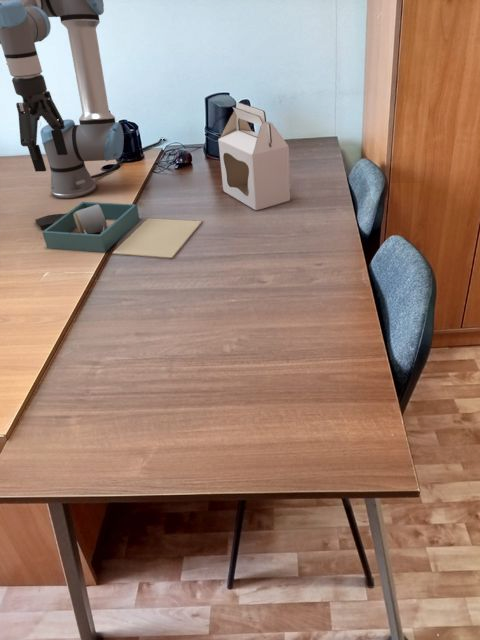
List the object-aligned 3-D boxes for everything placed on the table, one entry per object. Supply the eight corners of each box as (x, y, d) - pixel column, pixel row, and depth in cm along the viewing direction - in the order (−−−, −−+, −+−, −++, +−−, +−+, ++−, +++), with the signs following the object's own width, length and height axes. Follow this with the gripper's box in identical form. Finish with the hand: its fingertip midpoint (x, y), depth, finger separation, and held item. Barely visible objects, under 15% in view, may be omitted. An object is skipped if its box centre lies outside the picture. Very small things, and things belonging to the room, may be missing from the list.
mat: (148, 219, 167) (147, 218, 167) (201, 222, 163) (201, 221, 163) (112, 254, 149) (112, 252, 148) (172, 258, 144) (171, 257, 144)
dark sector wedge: (84, 220, 169) (82, 215, 168) (40, 231, 164) (39, 226, 163) (77, 211, 175) (76, 207, 174) (35, 222, 170) (33, 217, 169)
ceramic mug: (76, 230, 163) (70, 206, 158) (103, 224, 165) (97, 200, 161) (85, 244, 155) (78, 219, 150) (112, 236, 158) (106, 212, 153)
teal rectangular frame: (86, 216, 171) (82, 201, 168) (139, 219, 167) (136, 204, 164) (47, 248, 154) (41, 232, 151) (105, 252, 150) (101, 236, 147)
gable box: (222, 191, 183) (214, 104, 166) (255, 182, 188) (250, 97, 171) (256, 211, 167) (250, 117, 151) (290, 201, 173) (288, 109, 156)
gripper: (35, 66, 141) (58, 148, 154) (-14, 87, 121) (17, 178, 134) (62, 65, 140) (83, 148, 153) (16, 85, 121) (44, 178, 133)
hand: (52, 162), depth 144 cm, fingers open, 13 cm apart
